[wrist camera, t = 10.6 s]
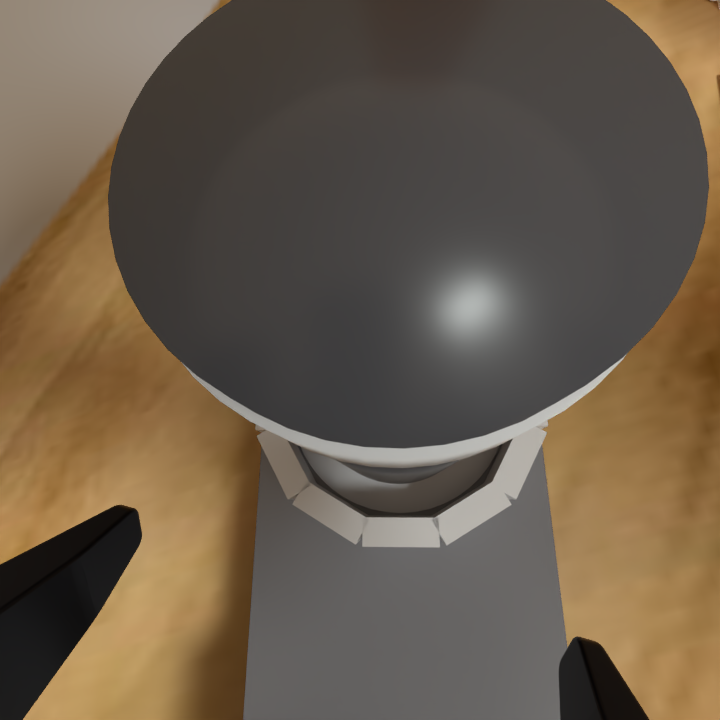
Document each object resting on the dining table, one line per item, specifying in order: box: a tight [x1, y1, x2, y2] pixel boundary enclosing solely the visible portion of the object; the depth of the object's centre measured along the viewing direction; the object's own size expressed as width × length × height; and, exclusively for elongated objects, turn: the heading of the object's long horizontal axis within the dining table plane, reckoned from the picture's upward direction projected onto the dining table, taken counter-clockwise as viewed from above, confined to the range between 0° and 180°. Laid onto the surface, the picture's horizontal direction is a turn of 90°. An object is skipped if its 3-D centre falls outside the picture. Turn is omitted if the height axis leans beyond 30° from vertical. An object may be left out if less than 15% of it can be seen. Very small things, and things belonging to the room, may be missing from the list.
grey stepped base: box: [243, 421, 567, 720], centre depth 16 cm, size 11×23×4 cm, turn 0°
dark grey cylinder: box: [108, 0, 709, 484], centre depth 11 cm, size 6×6×13 cm
